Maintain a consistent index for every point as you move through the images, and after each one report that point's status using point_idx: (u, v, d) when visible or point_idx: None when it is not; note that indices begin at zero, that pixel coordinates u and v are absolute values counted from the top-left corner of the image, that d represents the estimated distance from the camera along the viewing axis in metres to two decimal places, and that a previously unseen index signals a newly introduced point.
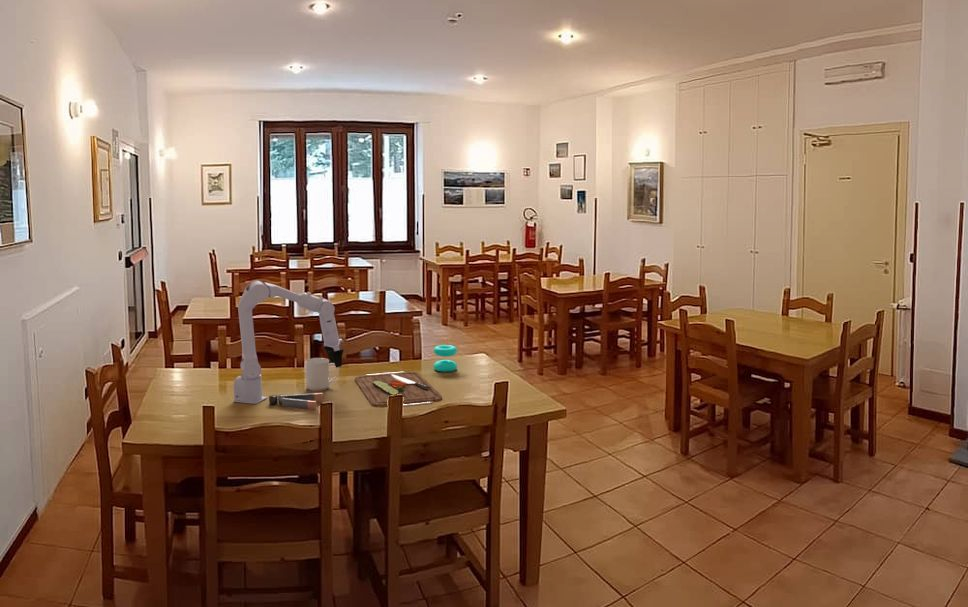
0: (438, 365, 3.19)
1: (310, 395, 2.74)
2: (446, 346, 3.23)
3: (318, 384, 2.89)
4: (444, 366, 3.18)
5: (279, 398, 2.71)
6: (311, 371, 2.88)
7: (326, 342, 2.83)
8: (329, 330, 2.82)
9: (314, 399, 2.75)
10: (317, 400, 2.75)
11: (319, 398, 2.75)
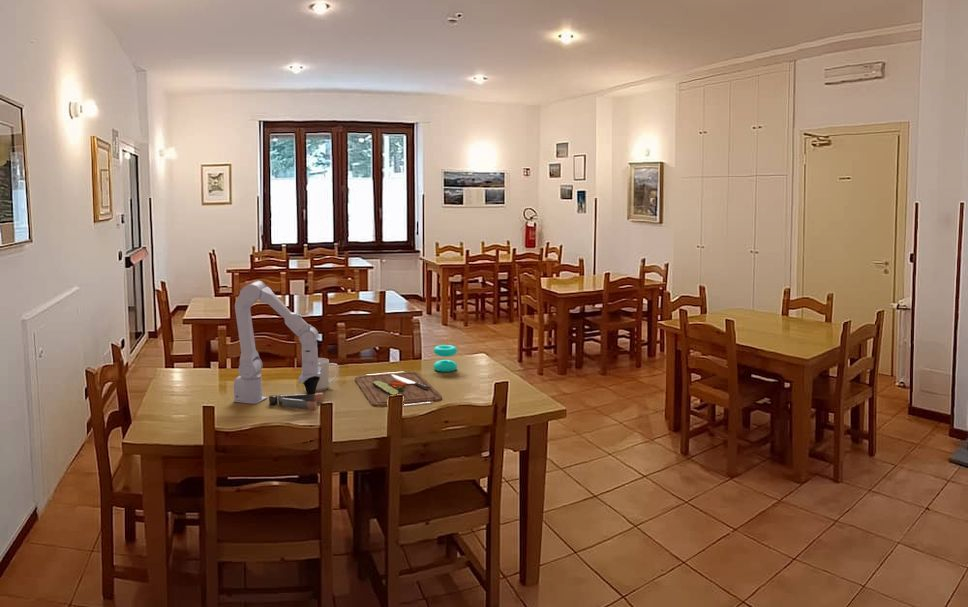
0: (438, 365, 3.19)
1: (310, 395, 2.74)
2: (446, 346, 3.23)
3: (318, 384, 2.89)
4: (444, 366, 3.18)
5: (279, 398, 2.71)
6: None
7: (302, 371, 2.74)
8: (306, 360, 2.72)
9: (314, 399, 2.75)
10: (317, 400, 2.75)
11: (319, 398, 2.75)
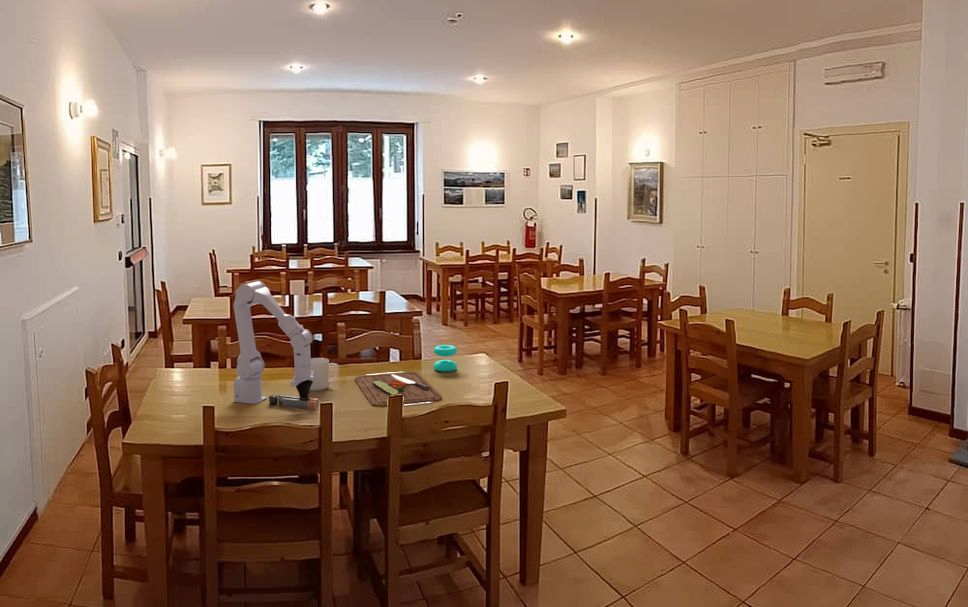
0: (438, 365, 3.19)
1: (306, 399, 2.69)
2: (446, 346, 3.23)
3: (318, 384, 2.89)
4: (444, 366, 3.18)
5: (278, 398, 2.72)
6: None
7: (295, 375, 2.69)
8: (297, 363, 2.66)
9: None
10: None
11: None
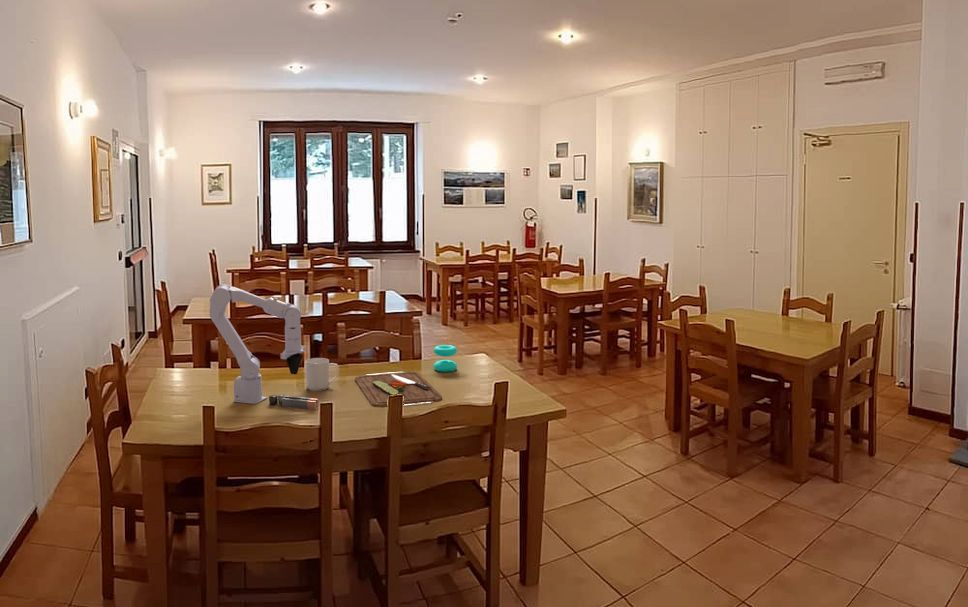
0: (438, 365, 3.19)
1: (306, 399, 2.69)
2: (446, 346, 3.23)
3: (318, 384, 2.89)
4: (444, 366, 3.18)
5: (278, 398, 2.72)
6: (311, 371, 2.88)
7: (285, 348, 2.76)
8: (291, 337, 2.74)
9: None
10: None
11: None
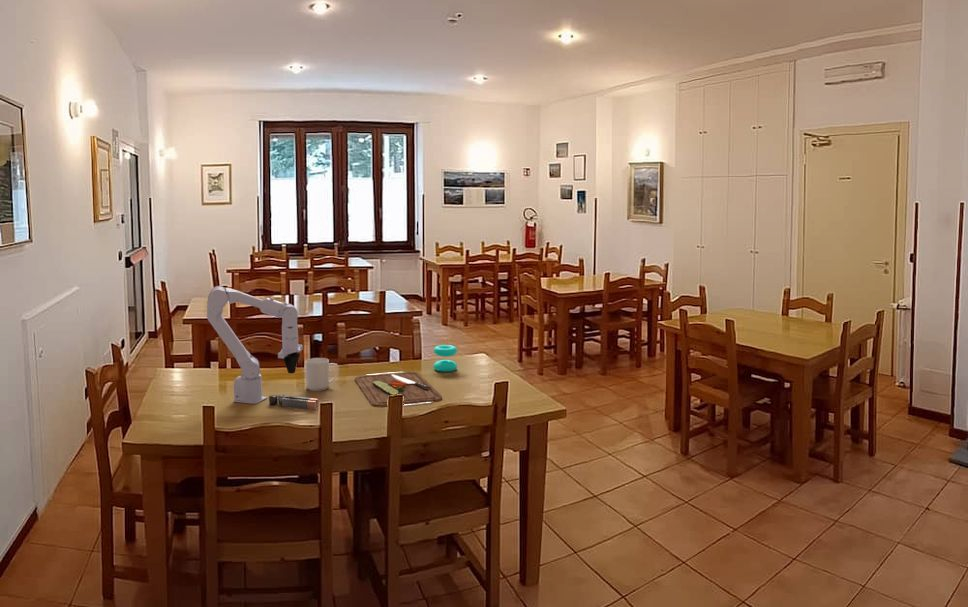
0: (438, 365, 3.19)
1: (306, 399, 2.69)
2: (446, 346, 3.23)
3: (318, 384, 2.89)
4: (444, 366, 3.18)
5: (278, 398, 2.72)
6: (311, 371, 2.88)
7: None
8: (289, 336, 2.75)
9: None
10: None
11: None
